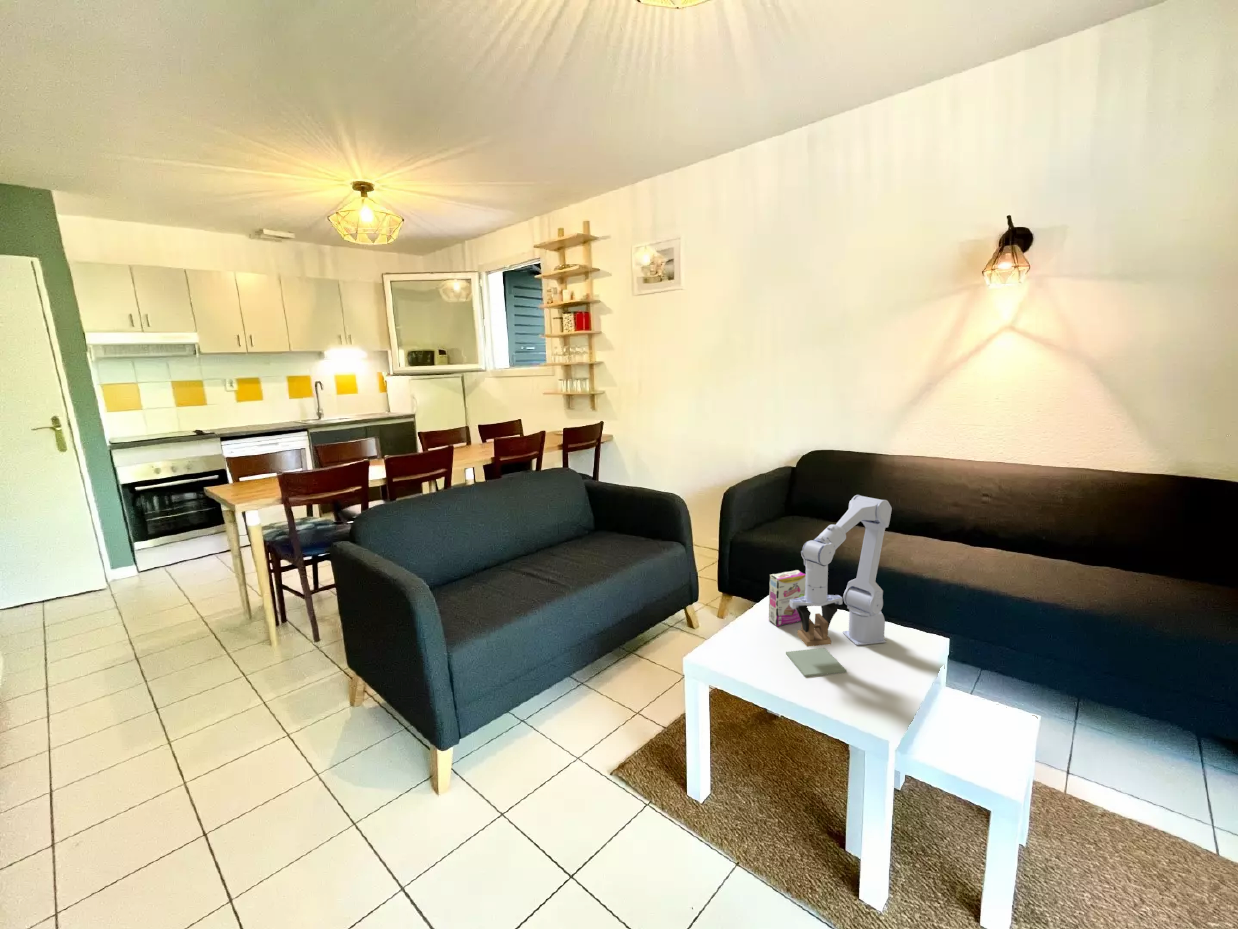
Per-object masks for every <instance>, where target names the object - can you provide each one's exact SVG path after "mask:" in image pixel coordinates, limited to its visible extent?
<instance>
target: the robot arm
mask: <svg viewBox="0 0 1238 929" xmlns="http://www.w3.org/2000/svg"><path fill="white" fill-rule="evenodd" d="M892 509H893V508H892V506H891V504H890V502H889V501H888V500H887V499H879V498H874V497H868V496H864V495H860V494H856V495H854V496H853V497H852V498H851V500H849V503H848V509H847V510H846V512H845V513H844V514H843V515H842V516H841V517H840V519H839V520H838V521H837V522H836V524H829V525H828V526H827V527H826V528H825V529H824V530H823V531H822V532H820V533H819V535H818V536H816V537H815V538H814V539H813V540H812V539H811V540H808V541H806V542H805V543H804V544H803V546H802V549H801V551H800V554H801V557H802V559H803V566H805V574H806V581H805V596H802V597H799V598H796V599H790V607H791V608H792V609H796V610H797V612H798V614H799V616H800V619H801V622H800V623H801V624H802V627H803V630H804V631H805V632H808V630H809V619H811V618H810V617H811V614H812V613H811V611H810V610H809V608H808V607H821V616H822V617H823V618H824V619H825V620H826V621H827V622H828V629H829V627H830V624H831V622H832V620H833V618H834V616H835V614H836V613H837V612H838V606H836V605H843V602H844V604H845V605H846V609H848V611H849V618H848V619H849V620H848V630H844V631H842V634H843V635H844V636H845V637H847V638H848V639H849V640H850V641H851V642H852V643H853V644H854V645H855V646H864V645H872V644H882V643H886V640H885V625H886V620H885V616H884V614H883V613H882V609H883V606H884V599H883V595H884V590H883V589H882V588H881V586H879V584H878V583H877V582H876V578H877V574H878V569H879V563H880V558H881V552H882V547H883V540H884V535H885V530H886V528H889V527H890V526H889V525H890V521H891V516H892V515H891V514H892ZM860 522H861V523H862V524H863V526H864V527H865V530H864V534H863V539H862V540H863V541H862V546H861V552H860V558H859V563H858V566H857V573H856V578H854V579H851V580H849V581H848V582H847V585H846V589H845V590H844V593H843V596H841V595H839V594H835V595H834V594H828V579H829V577H828V575H829V572H828V571H829V564H830V563H831V562H832V560H833V558H834V555H835V554H836V550H837V549H838V548H839V547H841V544H843V543H844V542H845V541H846V539H847V533H848V532H849V531H850V530H852V529H853V528H854V527H855V526H856V525H858V524H859V523H860Z"/></svg>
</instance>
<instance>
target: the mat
mask: <svg viewBox="0 0 1238 929" xmlns="http://www.w3.org/2000/svg"><path fill="white" fill-rule="evenodd" d="M785 655H786V656H787V657H788V659H790V661H791V662H792V664H794V666H795V667H796V668H797V669H798V671H799V672H800V673H801V674H802V675H803V677H805V678H808V677H816V676H823V675H834V674H842V673H843V674H844V673H847V671H848V670H847V669H846V668H845V667H844V665H842V664H841V663H840V662H839V661H838V660H837V658H835V656H833V655H832V654H831V653H830V651H828V650H827V649H826V648H825V647H821V648H818V647H817V648H811V649H810V648H809V649H800V650H793V651H792V650H791V651H786V652H785Z"/></svg>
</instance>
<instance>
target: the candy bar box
mask: <svg viewBox="0 0 1238 929" xmlns="http://www.w3.org/2000/svg"><path fill="white" fill-rule="evenodd" d="M805 581H806V573H804V572H802V571H800V570H799V569H795V570H791V571H783V572H778V573H772V574H769V587H768V588H769V591H768V592H769V593H768V594H769V600H768V621H769V622H770V623H772V624H773V625H774V626H775V627H781V626H785V625H791V624H796V623H801V619H800V616H799V614H798V612H797V610H796V609H792V608H791V607H790V599H796V598H799V597H802V596H805Z"/></svg>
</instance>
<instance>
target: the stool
mask: <svg viewBox="0 0 1238 929" xmlns="http://www.w3.org/2000/svg"><path fill="white" fill-rule="evenodd" d="M800 627H801V629H799V630H797V636H798V638H799V639H800V640H801V642H802V643H803V644H804V646H806V647H816V646H817V647H818V646H827V645H831V644H832V638H830V637H829V635H828V633H829V628H828V622H827V621H826V620H825V619H824V618H823V617H822V614H820V613H815V614H814V622H813V621H812V620H811V618H809V630H808V632H805V631H804V630H803V627H802V623H801V625H800Z"/></svg>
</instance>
